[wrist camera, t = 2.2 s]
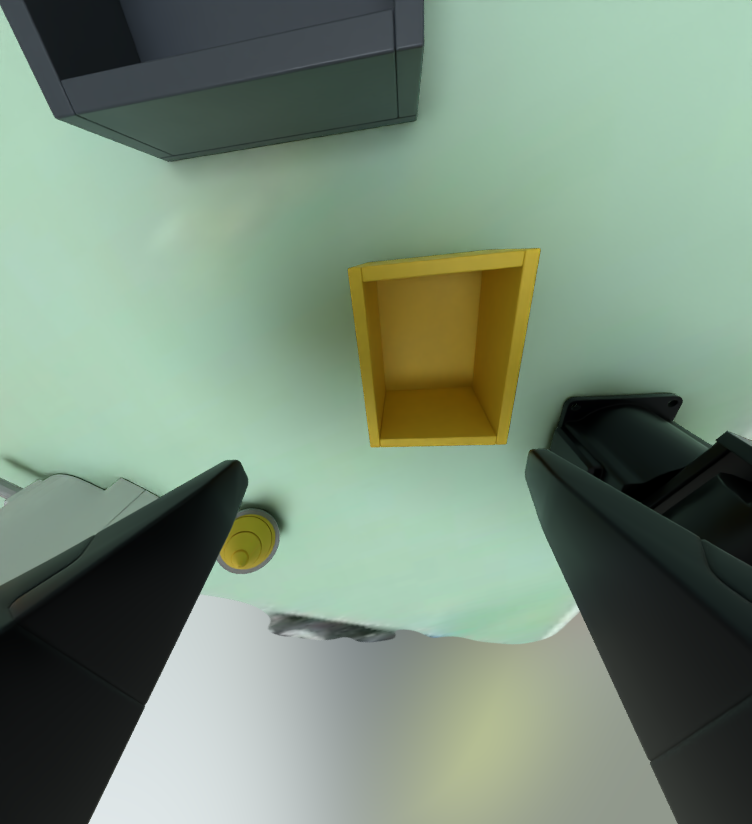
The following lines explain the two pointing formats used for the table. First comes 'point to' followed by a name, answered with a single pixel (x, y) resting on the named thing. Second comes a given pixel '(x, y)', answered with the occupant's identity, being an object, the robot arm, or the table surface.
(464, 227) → the table surface
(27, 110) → the table surface
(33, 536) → the grey machine part
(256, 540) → the yellow ridged cone
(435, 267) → the small bin
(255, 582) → the table surface
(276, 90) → the big bin
